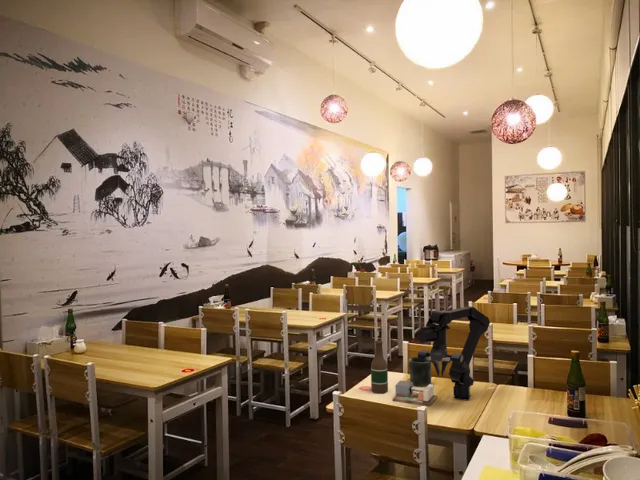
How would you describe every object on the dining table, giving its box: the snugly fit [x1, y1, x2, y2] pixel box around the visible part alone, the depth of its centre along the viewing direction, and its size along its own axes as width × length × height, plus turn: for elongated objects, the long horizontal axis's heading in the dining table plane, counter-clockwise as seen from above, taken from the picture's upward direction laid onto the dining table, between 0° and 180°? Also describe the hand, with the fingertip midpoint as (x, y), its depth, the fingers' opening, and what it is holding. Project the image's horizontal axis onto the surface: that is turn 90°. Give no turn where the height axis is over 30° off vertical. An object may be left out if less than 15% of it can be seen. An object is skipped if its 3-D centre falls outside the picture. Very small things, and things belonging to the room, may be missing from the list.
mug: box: [408, 356, 432, 388], centre depth 248 cm, size 11×15×12 cm
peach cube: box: [417, 392, 423, 401], centre depth 220 cm, size 2×2×3 cm
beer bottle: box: [370, 339, 389, 395], centre depth 236 cm, size 8×8×24 cm
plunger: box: [411, 383, 435, 401], centre depth 224 cm, size 9×10×4 cm
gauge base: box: [392, 391, 438, 407], centre depth 225 cm, size 17×12×1 cm
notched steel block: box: [395, 380, 414, 398], centre depth 228 cm, size 6×7×5 cm
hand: (440, 375), depth 219 cm, fingers closed
